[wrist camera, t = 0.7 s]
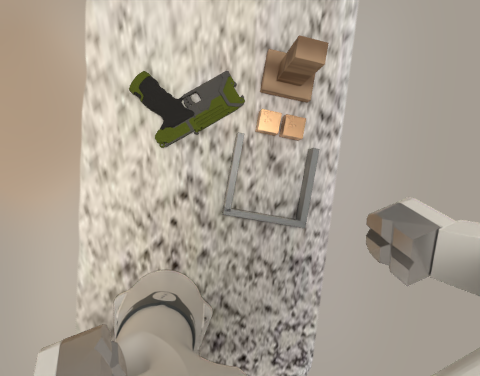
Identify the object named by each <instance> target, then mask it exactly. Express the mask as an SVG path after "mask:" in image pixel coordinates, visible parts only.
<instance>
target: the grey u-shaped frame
mask: <svg viewBox="0 0 480 376" xmlns="http://www.w3.org/2000/svg"><path fill="white" fill-rule="evenodd" d="M243 138H244V133H239V132H238V133H237V134H236V139H235V144H234V150H233V155H232V161H231V166H230V172H229V177H228V183H227V189H226V194H225V200H224V205H223V211H222V213H223V214H225V215H230V216H236V217H242V218H248V219H254V220H260V221H266V222H272V223H278V224H284V225H290V226H296V227H301V228H305V227H306V221H307V216H308V210H309V204H310V199H311V193H312V188H313V182H314V176H315V171H316V165H317V160H318V154H319V149H316V148H312V149H308V154H307V160H306V165H305V171H304V176H303V182H302V188H301V193H300V199H299V204H298V210H297V216H296V219H291V218H285V217H279V216H273V215H267V214H262V213H256V212H250V211H244V210H238V209H233V208H231V205H232V199H233V194H234V188H235V183H236V177H237V172H238V166H239V161H240V155H241V150H242V144H243Z"/></svg>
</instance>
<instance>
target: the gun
mask: <svg viewBox="0 0 480 376" xmlns="http://www.w3.org/2000/svg"><path fill="white" fill-rule="evenodd" d="M236 85H237V84H236V83H235V82H234V81H233V79H232V77H231V75H230V74H229V72H228V71H225V72H223V73H222V74H220V75H218V76H217V77H215V78H213V79H211V80H209V81H208V82H206V83H204V84H202V85H200V86H199V87H197V88H195V89H193V90H191V91H190V92H188V93H186V94H184V95H183V96H182V97H181V98H179V99H175V98H174V97H172V95H171V94H169V93H167V92H166V91H165V90H164V89H163V88H161V87H160V86H159V84H158V82H157V81H156V80H155V79H154V78H152V77H151V75H150V74H149V73H147V72H145V71H143V72H141V73H140V74H138V75H137V76H136V77H135V79H134V80H133V81H132V83H131V85H130V88H129V90H130V91H131V92H132V93H133V94H135V95H136V96H137V97H139V98H140V101H141V102H142V103H143V104H144V105H145V106H146V107H147V108H149V109H150V110H152V111H153V112H155V113H157V114H158V115H160V116H161V117H162V118H163V120H164V122H163V124H162V126H161V128H160V130H158V132H157V133H156V135H155V139H156V141H157V142H158V143H160V147H161V148H164V147H167V146H169V145H170V144H172V143H174V142H176V141H178V140H179V139H181V138H183V137H185V136H186V135H188V134H190V133H192V132H194V131H195V132H194V134H199V133H198V131H201V130H202V129H204V128H206V127H207V126H209V125H211V124H213V123H214V122H216V121H218V120H220V119H221V118H223V117H225V116H227V115H228V114H230V113H232V112H233V111H235V110H237V109H238V108H239V107H241V106H242V105H243V103H244V102H245V100H244V97H243V95H242V96H241V97H239V95H238V94H237V92H236V90H235V88H234V86H236ZM194 93H197V94H198V95H199V97H200V98H201V101H199V102H197V103H195V102H193V101H192V100H191V97H190V95H192V94H194ZM183 99H184V104H185V105H186V107H188V108H185V107H184V106H183V104H182V103H181V101H182V100H183ZM186 99H187V101H186ZM187 102H189V103H187ZM190 104H191V106H190ZM163 142H164V143H168V144H167V145H165V144H164V143H163ZM161 144H163V146H161Z"/></svg>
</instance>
